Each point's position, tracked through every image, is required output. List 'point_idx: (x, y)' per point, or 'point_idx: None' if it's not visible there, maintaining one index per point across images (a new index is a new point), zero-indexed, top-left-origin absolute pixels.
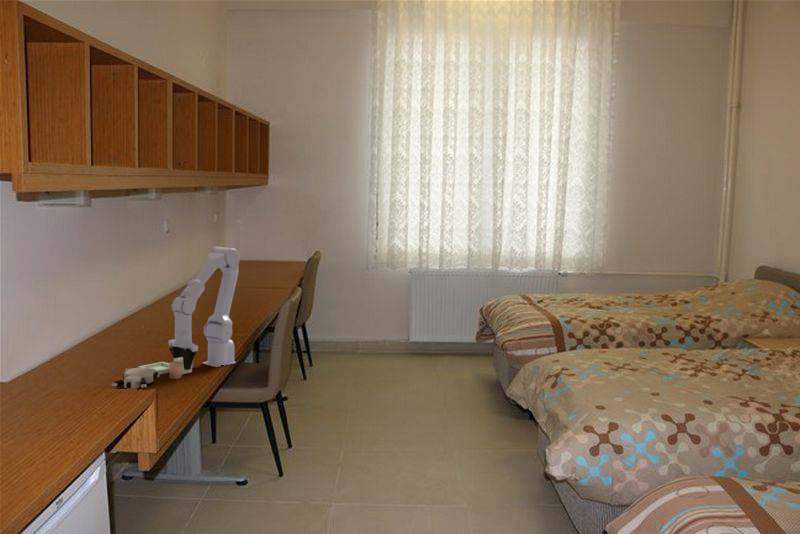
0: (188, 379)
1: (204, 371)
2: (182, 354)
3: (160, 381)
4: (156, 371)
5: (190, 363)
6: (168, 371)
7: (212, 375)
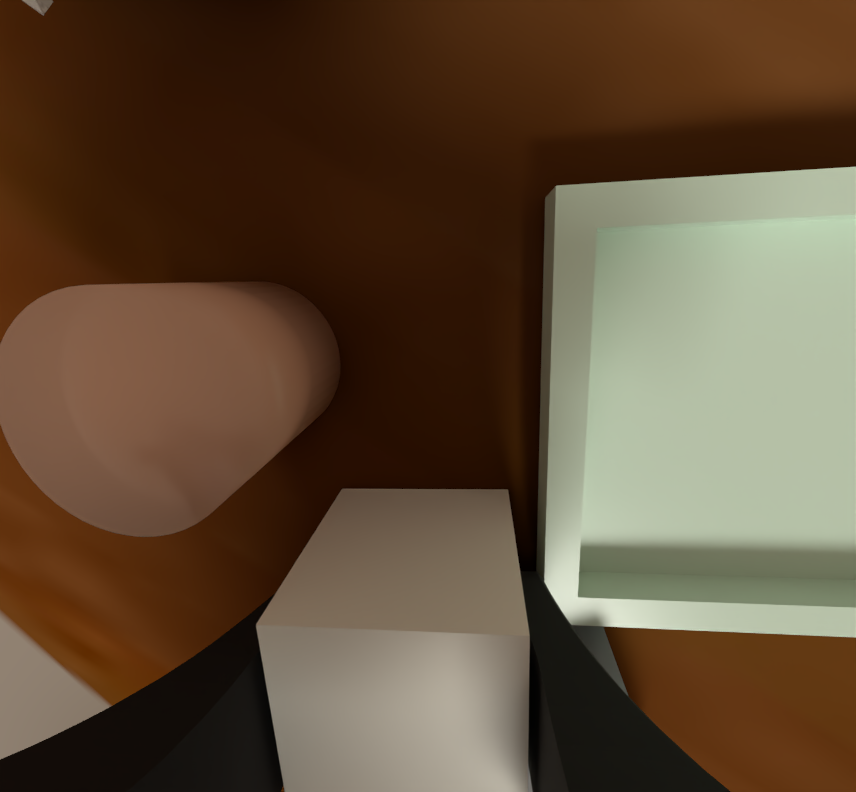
0: None
1: None
2: (119, 768)
3: (183, 71)
4: None
5: None
6: (542, 439)
7: (113, 672)
